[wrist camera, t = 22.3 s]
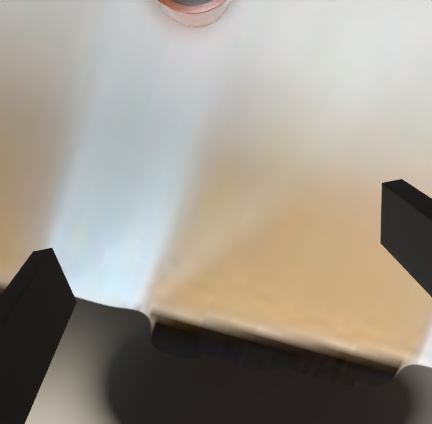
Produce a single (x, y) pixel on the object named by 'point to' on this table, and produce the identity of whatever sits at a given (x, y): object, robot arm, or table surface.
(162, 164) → the table surface
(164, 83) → the table surface
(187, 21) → the terracotta pot
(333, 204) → the table surface
